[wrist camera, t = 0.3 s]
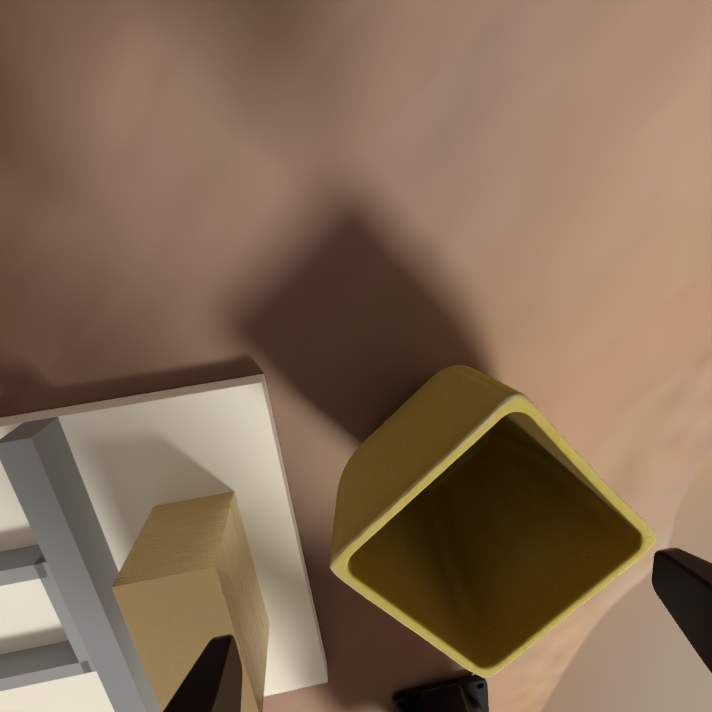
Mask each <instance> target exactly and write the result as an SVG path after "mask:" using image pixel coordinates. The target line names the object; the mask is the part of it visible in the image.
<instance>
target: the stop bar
mask: <svg viewBox="0 0 712 712" xmlns="http://www.w3.org/2000/svg"><path fill="white" fill-rule="evenodd" d="M111 588H112V591H113V593H114V596H115V598H116V601H117V603H118V606H119V608H120V611H121V613H122V616H123V618H124V620H125V623H126V625H127V628H128V630H129V633H130V635H131V638H132V640H133V643H134V645H135V648H136V650H137V653H138V655H139V657H140V660H141V662H142V665H143V667H144V670H145V672H146V675H147V677H148V680H149V682H150V685H151V687H152V689H153V692H154V694H155V697H156V699H157V702H158V704H159V707H160V709H161V712H163V710H164V709H165V707H166V706H167V704H168V703H169V701H170V700H171V698H172V697H173V695H174V694H175V692H176V691H177V689H178V688H179V686H180V685H181V683H182V682H183V680H184V679H185V677H186V676H187V674H188V673H189V671H190V670H191V668H192V667H193V665H194V664H195V662H196V661H197V659H198V658H199V656H200V655H201V653H202V652H203V650H204V648H205V647H206V645H207V644H208V642H209V641H210V640H211V639H212V638H214V637H217V636H222V635H227V634H232V635H233V636H234V638H235V641H236V645H237V648H238V652H239V656H240V659H241V663H242V673H243V677H242V696H241V712H262V710H263V698H264V686H265V674H266V662H267V650H268V638H269V626H270V624H269V620H268V616H267V612H266V608H265V605H264V601H263V597H262V593H261V590H260V586H259V582H258V578H257V575H256V571H255V567H254V563H253V559H252V556H251V552H250V548H249V544H248V541H247V537H246V533H245V529H244V526H243V522H242V518H241V514H240V510H239V507H238V503H237V499H236V495H235V492H234V491H232V492H227V493H222V494H216V495H211V496H205V497H200V498H195V499H189V500H184V501H179V502H173V503H168V504H162V505H157V506H154V507H153V508H152V510H151V512H150V514H149V516H148V518H147V520H146V522H145V524H144V526H143V528H142V529H141V531H140V533H139V535H138V537H137V539H136V541H135V543H134V545H133V547H132V549H131V550H130V552H129V554H128V556H127V558H126V560H125V562H124V564H123V566H122V568H121V569H120V571H119V573H118V575H117V577H116V579H115V581H114V583H113V585H112V587H111Z"/></svg>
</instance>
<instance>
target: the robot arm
mask: <svg viewBox="0 0 712 712" xmlns="http://www.w3.org/2000/svg"><path fill="white" fill-rule="evenodd" d="M652 584H653V587H654V590H655V592H656V593H657V595H658V596H659V598H660V599H661V601H662V602H663V604H664V605H665V607H666V608H667V609H668V611H669V612H670V614H671V615H672V617H673V618H674V620H675V621H676V623H677V624H678V625H679V627H680V629H681V630H682V632H683V633H684V634H685V636H686V637H687V639H688V640H689V641H690V643H691V645H692V646H693V648H694V649H695V650H696V652H697V653H698V655H699V656H700V658H701V659H702V660H703V662H704V663H705V665H706V666H707V667H708V669H709V670H710V671H711V673H712V563H710V562H708V561H705V560H703V559H701V558H699V557H696V556H694V555H692V554H690V553H688V552H685V551H683V550H681V549H678V548H668V549H663V550H659V551H657V552H656V553H655V555H654V563H653V574H652ZM242 677H243V673H242V663H241V659H240V656H239V652H238V648H237V645H236V641H235V638H234V636H233V635H232V634H227V635H222V636H217V637H214V638H212V639H211V640H210V641H209V642H208V644H207V645H206V647H205V648H204V650H203V652H202V653H201V655H200V656H199V658H198V659H197V661H196V662H195V664H194V665H193V667H192V668H191V670H190V671H189V673H188V674H187V676H186V677H185V679H184V680H183V682H182V683H181V685H180V686H179V688H178V689H177V691H176V692H175V694H174V695H173V697H172V698H171V700H170V701H169V703H168V704H167V706H166V707H165V709H164V710H163V712H241V696H242ZM392 703H393V709H394V712H489V707H488V689H487V682H486V680H485V678H483V677H481V676H478V675H475V676H470V677H466V678H461V679H457V680H452V681H448V682H443V683H439V684H434V685H430V686H426V687H421V688H417V689H412V690H408V691H403V692H399V693H396V694H395V695H393V697H392Z"/></svg>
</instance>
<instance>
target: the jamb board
mask: <svg viewBox="0 0 712 712" xmlns="http://www.w3.org/2000/svg"><path fill="white" fill-rule="evenodd" d="M232 491H234V492H235V495H236V499H237V503H238V507H239V510H240V514H241V518H242V522H243V526H244V529H245V533H246V537H247V541H248V544H249V548H250V552H251V556H252V559H253V563H254V567H255V571H256V575H257V578H258V582H259V586H260V590H261V593H262V597H263V601H264V605H265V608H266V612H267V616H268V620H269V624H270V626H269V638H268V650H267V662H266V674H265V686H264V696H268V695H273V694H277V693H282V692H286V691H291V690H295V689H300V688H304V687H309V686H313V685H318V684H323V683H327V682H328V674H327V661H326V657H325V652H324V648H323V643H322V638H321V634H320V629H319V625H318V620H317V615H316V611H315V606H314V602H313V597H312V592H311V588H310V583H309V579H308V574H307V569H306V565H305V560H304V556H303V551H302V546H301V542H300V537H299V533H298V528H297V523H296V519H295V514H294V510H293V505H292V500H291V496H290V491H289V487H288V482H287V477H286V473H285V468H284V464H283V459H282V454H281V450H280V445H279V441H278V436H277V431H276V427H275V422H274V418H273V413H272V408H271V404H270V399H269V395H268V390H267V385H266V381H265V376H264V374H259V375H253V376H247V377H241V378H235V379H229V380H223V381H217V382H211V383H205V384H199V385H193V386H187V387H181V388H175V389H170V390H164V391H158V392H152V393H146V394H140V395H134V396H128V397H122V398H116V399H110V400H104V401H98V402H92V403H86V404H80V405H74V406H68V407H62V408H56V409H50V410H44V411H38V412H32V413H26V414H20V415H14V416H8V417H2V418H0V712H161V709H160V707H159V704H158V702H157V699H156V697H155V694H154V692H153V689H152V687H151V685H150V682H149V680H148V677H147V675H146V672H145V670H144V667H143V665H142V662H141V660H140V657H139V655H138V653H137V650H136V648H135V645H134V643H133V640H132V638H131V635H130V633H129V630H128V628H127V625H126V623H125V620H124V618H123V616H122V613H121V611H120V608H119V606H118V603H117V601H116V598H115V596H114V593H113V591H112V588H111V587H112V585H113V583H114V581H115V579H116V577H117V575H118V573H119V571H120V569H121V568H122V566H123V564H124V562H125V560H126V558H127V556H128V554H129V552H130V550H131V549H132V547H133V545H134V543H135V541H136V539H137V537H138V535H139V533H140V531H141V529H142V528H143V526H144V524H145V522H146V520H147V518H148V516H149V514H150V512H151V510H152V508H153V507H154V506H157V505H162V504H168V503H173V502H179V501H184V500H189V499H195V498H200V497H205V496H211V495H216V494H222V493H227V492H232Z"/></svg>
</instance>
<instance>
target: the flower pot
mask: <svg viewBox="0 0 712 712" xmlns="http://www.w3.org/2000/svg"><path fill="white" fill-rule="evenodd" d="M656 539H657V537H656V534H655V532H654V530H653V529H652V528H651V527H650V526H649V525H648V524H647V523H646V522H645V521H644V520H643V519H642V518H641V517H640V516H639V515H638V514H637V513H636V512H635V511H633V510H632V509H631V508H630V507H629V506H628V505H627V504H626V503H625V502H624V501H623V500H622V499H621V498H620V497H619V496H618V495H617V494H616V493H615V492H614V491H613V490H612V489H611V488H610V487H609V486H608V485H607V484H606V483H605V482H604V480H603V479H601V478H600V477H599V476H598V474H597V473H596V472H595V471H594V470H593V469H592V468H591V467H590V466H589V464H588V463H587V462H586V461H585V460H584V459H583V458H582V457H581V456H580V454H579V453H578V452H577V451H576V450H575V449H574V448H573V447H572V446H571V445H570V444H569V442H568V441H567V440H566V439H565V438H564V437H563V436H562V435H561V434H560V433H559V431H558V430H557V429H556V428H555V427H554V426H553V425H552V424H551V422H550V421H549V420H548V419H547V418H546V417H545V415H544V414H543V413H542V412H541V411H540V410H539V409H538V408H537V406H536V405H535V404H534V403H533V402H532V401H531V400H530V399H529V398H528V397H527V396H525V395H524V394H522V393H520V392H518V391H516V390H514V389H512V388H511V387H509V386H507V385H505V384H503V383H501V382H499V381H497V380H495V379H493V378H491V377H489V376H487V375H486V374H484V373H482V372H480V371H478V370H476V369H473V368H471V367H468V366H464V365H453V366H449V367H446V368H444V369H442V370H440V371H439V372H437V373H436V374H435V375H434V376H432V377H431V378H430V379H429V380H428V381H427V382H426V383H425V384H424V385H423V386H422V387H421V388H420V389H419V390H418V391H417V392H415V393H414V394H413V395H412V396H411V397H410V398H409V399H408V400H407V401H406V402H405V403H404V404H403V405H402V406H401V407H400V408H399V409H398V410H397V411H396V412H395V413H394V414H392V415H391V416H390V417H389V418H388V419H387V420H386V421H385V422H384V423H383V424H382V425H381V426H380V427H379V428H378V429H376V430H375V431H374V432H373V433H372V434H371V435H370V436H369V437H368V438H367V439H366V440H365V441H364V442H363V443H362V444H361V445H360V446H359V448H358V449H357V450H356V451H355V452H354V454H353V455H352V457H351V458H350V460H349V461H348V463H347V465H346V466H345V468H344V471H343V473H342V476H341V479H340V482H339V487H338V492H337V500H336V508H335V517H334V526H333V535H332V545H331V556H330V569H331V570H332V572H333V573H334V574H335V575H336V576H337V577H338V578H340V579H341V580H342V581H343V582H344V583H346V584H347V585H349V586H350V587H352V588H353V589H354V590H355V591H357V592H358V593H360V594H361V595H362V596H363V597H365V598H366V599H368V600H369V601H370V602H372V603H373V604H375V605H376V606H378V607H379V608H381V609H382V610H384V611H385V612H386V613H388V614H389V615H391V616H392V617H393V618H395V619H396V620H398V621H399V622H400V623H402V624H403V625H404V626H406V627H408V628H409V629H411V630H412V631H413V632H415V633H416V634H418V635H419V636H421V637H422V638H424V639H425V640H426V641H428V642H429V643H430V644H432V645H433V646H434V647H436V648H437V649H439V650H440V651H442V652H443V653H445V654H446V655H447V656H449V657H450V658H451V659H452V660H454V661H455V662H457V663H458V664H459V665H461V666H462V667H464V668H465V669H467V670H468V671H470V672H472V673H474V674H476V675H478V676H481V677H483V678H486V679H487V678H489V677H491V676H493V675H495V674H496V673H497V672H499V671H500V670H502V669H503V668H504V667H506V666H507V665H508V664H510V663H511V662H512V661H514V660H515V659H516V658H517V657H519V656H520V655H521V654H522V653H523V652H524V651H526V650H527V649H528V648H529V647H530V646H532V645H533V644H534V643H535V642H536V641H537V640H539V639H540V638H541V637H543V636H544V635H545V634H546V633H547V632H549V631H550V630H551V629H552V628H554V627H555V626H556V625H557V624H558V623H559V622H561V621H562V620H563V619H564V618H566V617H567V616H568V615H569V614H571V613H572V612H573V611H574V610H576V609H577V608H578V607H579V606H581V605H582V604H583V603H584V602H586V601H587V600H588V599H589V598H591V597H592V596H593V595H594V594H596V593H597V592H598V591H600V590H601V589H602V588H604V587H605V586H606V585H608V584H609V583H610V582H611V581H613V580H614V579H615V578H616V577H618V576H619V575H620V574H621V573H623V572H624V571H625V570H626V569H627V568H629V567H630V566H631V565H632V564H634V563H635V562H636V561H638V560H639V559H640V558H641V557H642V556H643V555H644V554H645V553H646V552H647V551H648V550H649V548H650V547H651V546H652V545H653V544H654V543H655V541H656Z"/></svg>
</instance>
